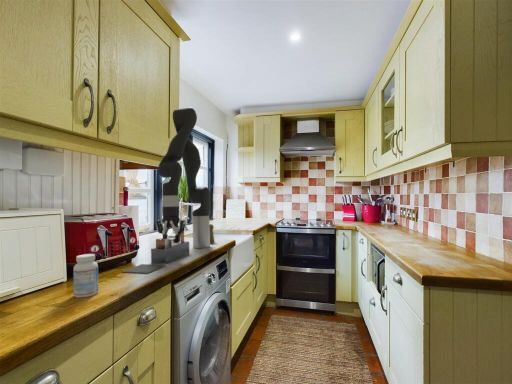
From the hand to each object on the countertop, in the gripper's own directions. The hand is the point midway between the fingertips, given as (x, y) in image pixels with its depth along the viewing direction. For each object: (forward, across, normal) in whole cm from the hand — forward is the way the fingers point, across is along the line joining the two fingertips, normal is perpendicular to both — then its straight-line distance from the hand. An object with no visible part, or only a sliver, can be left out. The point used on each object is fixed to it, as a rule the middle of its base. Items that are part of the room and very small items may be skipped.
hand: (171, 242), depth 123 cm
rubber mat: (+7, 0, +19) cm, 20 cm away
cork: (+7, 0, -43) cm, 43 cm away
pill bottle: (+7, -1, +46) cm, 47 cm away
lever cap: (+1, 0, 0) cm, 1 cm away
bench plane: (+7, 0, 0) cm, 7 cm away
